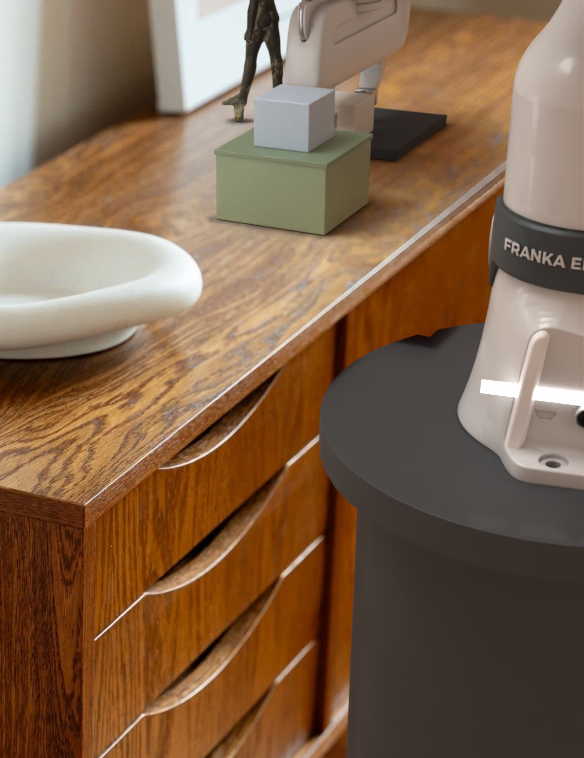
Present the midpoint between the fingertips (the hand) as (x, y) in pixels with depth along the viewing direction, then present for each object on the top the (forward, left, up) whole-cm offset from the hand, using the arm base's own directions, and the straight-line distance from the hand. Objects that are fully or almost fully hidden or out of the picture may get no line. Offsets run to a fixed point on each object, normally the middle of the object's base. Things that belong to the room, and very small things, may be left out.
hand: (345, 119), depth 143 cm
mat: (-1, -4, -2) cm, 4 cm away
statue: (+12, -5, -3) cm, 13 cm away
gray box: (-4, +19, +4) cm, 20 cm away
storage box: (-4, +19, -2) cm, 20 cm away
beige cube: (0, 0, -2) cm, 2 cm away
